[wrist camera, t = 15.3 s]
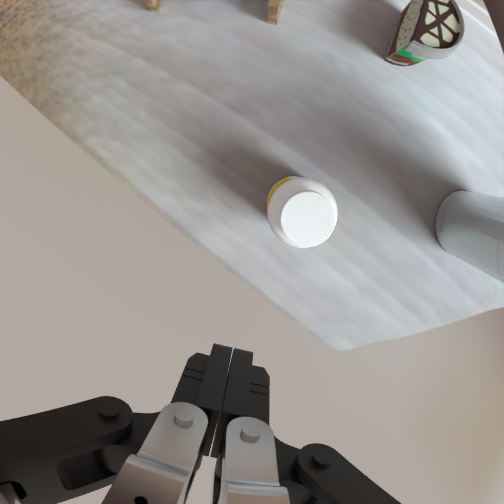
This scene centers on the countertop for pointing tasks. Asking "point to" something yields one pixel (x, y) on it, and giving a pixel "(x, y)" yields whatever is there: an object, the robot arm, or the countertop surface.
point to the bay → (273, 8)
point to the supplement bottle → (301, 211)
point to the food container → (426, 32)
